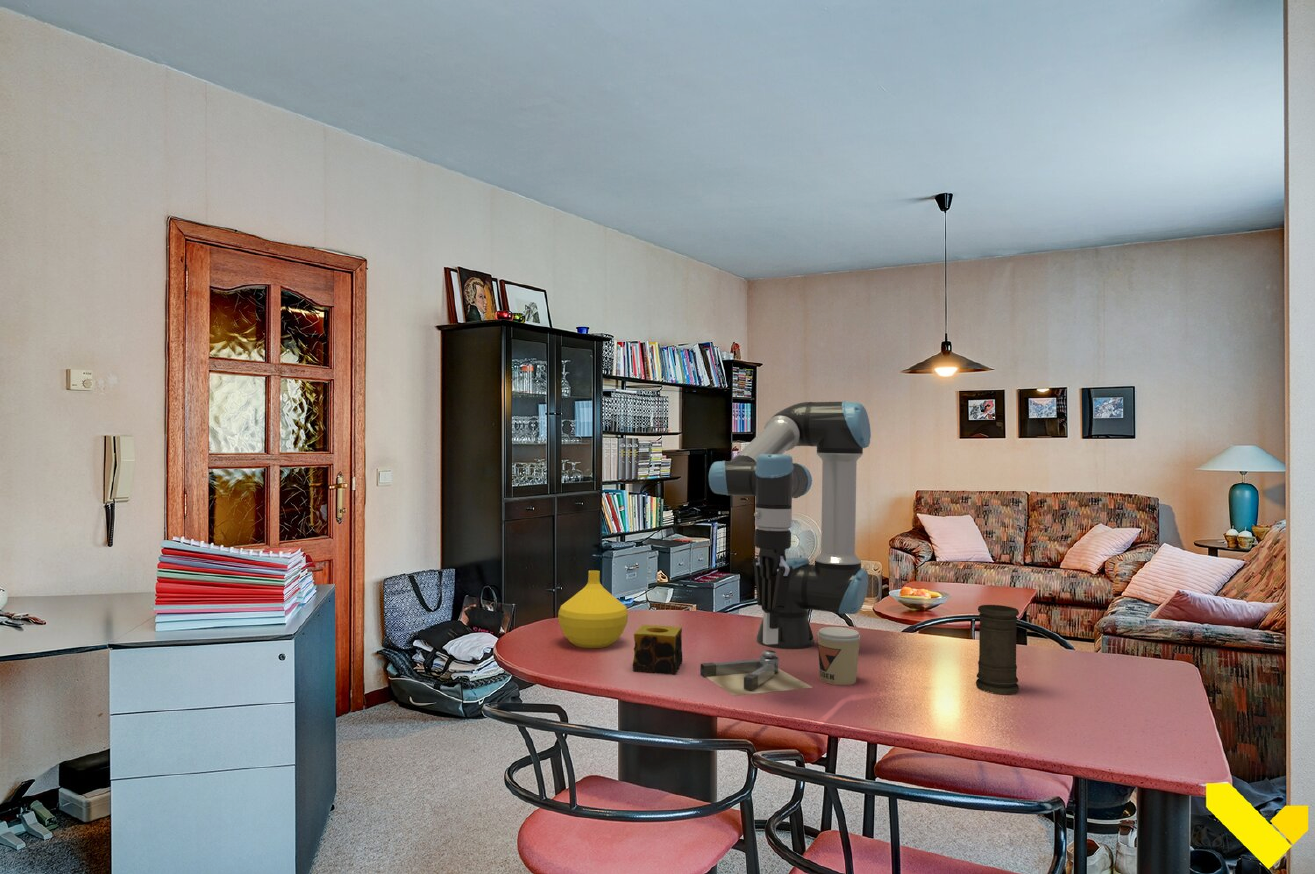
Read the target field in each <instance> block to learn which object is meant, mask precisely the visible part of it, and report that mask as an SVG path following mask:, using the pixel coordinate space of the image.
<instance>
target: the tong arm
mask: <svg viewBox="0 0 1315 874" xmlns="http://www.w3.org/2000/svg"><path fill="white" fill-rule="evenodd" d="M761 656H763V657H766V658H774V657H777V654H776V651H775V650H771V649H768V650H767V649H765V650H762V655H761ZM773 676H774V665H773V664H766V665H764V666H762V667H761V668H759V669H757V670H756V671H754V672H753V673H751V674H748V675H746V676H745V677H744V689H747V690H754V689H755V688H757V687H758V686H759V685H761V684H762V683H764V682H765V681H767V680H768V679H770V678H771V677H773Z"/></svg>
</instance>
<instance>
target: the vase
mask: <svg viewBox="0 0 1315 874" xmlns="http://www.w3.org/2000/svg"><path fill="white" fill-rule="evenodd" d="M587 574H588V575H587V576H588V579H587V583H586V585H585V586H584V587H583V588H582V589H581V590H579V591H577V593H575V594H574V595H573V596H571V597H570V598H569V599H568V600H567V601H565V602H564V603H563V604H561V605H560V607H559V610H558V614H557V615H558V616H557V619H558V623H559V626H560V629H561V632H562V633H563V635H564V636H565V637H566V639H567V640H568V642H570V643H571V644H573V645H574V646H576V647H579V648H582V649H583V648H584V649H600V648H601V649H602V648H607V647H610V646H612V645H613V644H614V643H615V642H616V641H618V640H619V639H620V637H621V635H622V634H624V631H625V628H626V626H627V624H628V615H629V611H628V608H627V606H626V605H625V604H623V603H622V601H620V600H619V599H618V598H616V597H615V596H614V595H613V594H611V593H610V592H609V591H608V590H607V589H606V588H604V587H603V585H602V584H601V581H600V579H601V575H600V574H601V572H600V570H588V573H587Z"/></svg>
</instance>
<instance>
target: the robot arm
mask: <svg viewBox="0 0 1315 874" xmlns="http://www.w3.org/2000/svg"><path fill="white" fill-rule="evenodd" d="M870 423H871V422H870V419H869V416H868V412H867V409H866V408H865V406H864V405H863V404H862V403H860V402H856V401H855V402H854V401H846V400H843V401H803V402H799V403H795V404H793V405H791V406H788V407H786V408H784V409H782V410H780V411H778V412H777V413H775V414H774V415H773V416H771V417H770V418H769V419H768V420H767V421H766V423H765V424H764V427H763V429H762V431H761V432H759V433H758V434H757V436H755V437H754V438H753V439H752V440H751V441H750V442H749V443H748V444H746V446H745V447H744V448H743V449H742V450H740V451H739V452H738V453H737V454H736V455H735V456H734V457H733V458H732V459H730V460H729V461H728V460H727V461H726V460H722V461H721V460H720V461H714V462H712V464H711V465H710V468H709V472H708V485H709V488H710V491H712V493H714V494H717V495H726V496H740V497H741V496H743V497H744V496H745V497H755V504H754V508H755V510H754V514H753V516H754V519H755V520H754V526H755V527H756V529H755V530H754V539H753V540H754V541H753V542H754V543H753V544H754V547H755V548H758V549H759V552H758V558H753V559H752V565H753V569H754V576H755V577H754V578H755V588H756V589H755V590H756V600H757V606H760V607H761V610H762V611H763V613H762V614H763V616H762V619H761V623H760V625H759V627H758V631H757V634H756V643H758V644H759V645H761V646H764V647H768V648H774V649H781V650H804V649H808V648H812V647H814V645H815V638H814V633H813V631H812V627H811V624H810V621H809V610H811V611H812V610H813V611H820V612H830V613H835V614H836V613H837V614H839V615H842V614H845V615H847V614H848V615H855V614H857V613H859V612H860V610H862V607H863V605H864V603H865V600H866V598H867V593H868V587H869V574H868V570H867V569H865V568H862V561H861V559H860V558H859V557H858V556H857V555H856V521H857V520H856V518H857V517H856V516H857V514H856V513H857V512H856V511H857V510H856V509H857V508H856V507H857V505H856V504H857V503H856V502H857V465H858V464H857V461H858V460H859V459H860V458H862V457H863V456H864V454H863V453H864V452H863V451H864V450H863V449H866V448H868V447H869V446H870V443H871V437H872V436H871V435H872V434H871V424H870ZM795 447H816V455H817V456H818V457H819V458H820V459H821V461H822V467H821V469H822V471H821V472H822V473H821V474H822V475H821V476H822V477H821V529H820V530H821V536H820V541H821V543H820V546H821V547H820V553H819V554H818V555H817V556H816V557H815V558H814V564H810V560H809V558H808V557H787V556H786V550H788V549H790V548H791V547H792V546H791V545H792V531H791V530H789V529H790V528H791V527H792V526H793V525H792V518H793V517H792V516H793V513H792V512H793V508H792V507H793V505H792V504H793V499H798V498H801V497H802V496H804V495H806V494H807V493H808V492H809V490H810V489H811V488H812V484H813V483H812V482H813V478H812V473H811V472H810V470H809V469H808V467H806V466H804V465H802V464H800V463H798V462H793V460H794V459H793V457H792V455H790V454H784V453H785V452H787V451H790V450H793V449H794V448H795Z"/></svg>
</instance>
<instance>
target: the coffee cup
mask: <svg viewBox="0 0 1315 874" xmlns="http://www.w3.org/2000/svg"><path fill="white" fill-rule="evenodd" d="M816 634H817V642H818V643H817V645H818V649H817V651H818V665H819V666H818V667H819V680H820V681H821V682H824V683H826V684H830V685H835V686H836V685H837V686H849V685H854V684H856V682H857V672H858V662H859V653H860V652H859V650H860V639H861V635H860V632H859V631H858V630H856V629H852V628H848V627H840V626H826V627H821V628H819V629H818V632H817V633H816Z"/></svg>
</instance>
